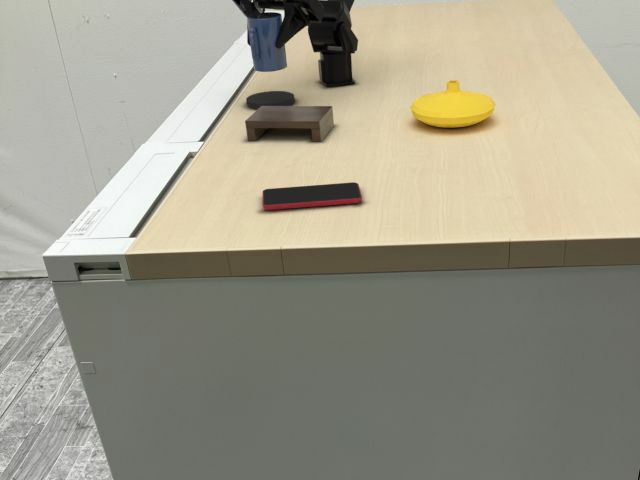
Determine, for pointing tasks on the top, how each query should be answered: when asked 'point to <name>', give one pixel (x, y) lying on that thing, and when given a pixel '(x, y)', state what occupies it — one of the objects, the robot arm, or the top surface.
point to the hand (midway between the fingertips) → (263, 46)
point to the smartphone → (311, 196)
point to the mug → (266, 42)
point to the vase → (452, 107)
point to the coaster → (270, 99)
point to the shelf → (291, 120)
